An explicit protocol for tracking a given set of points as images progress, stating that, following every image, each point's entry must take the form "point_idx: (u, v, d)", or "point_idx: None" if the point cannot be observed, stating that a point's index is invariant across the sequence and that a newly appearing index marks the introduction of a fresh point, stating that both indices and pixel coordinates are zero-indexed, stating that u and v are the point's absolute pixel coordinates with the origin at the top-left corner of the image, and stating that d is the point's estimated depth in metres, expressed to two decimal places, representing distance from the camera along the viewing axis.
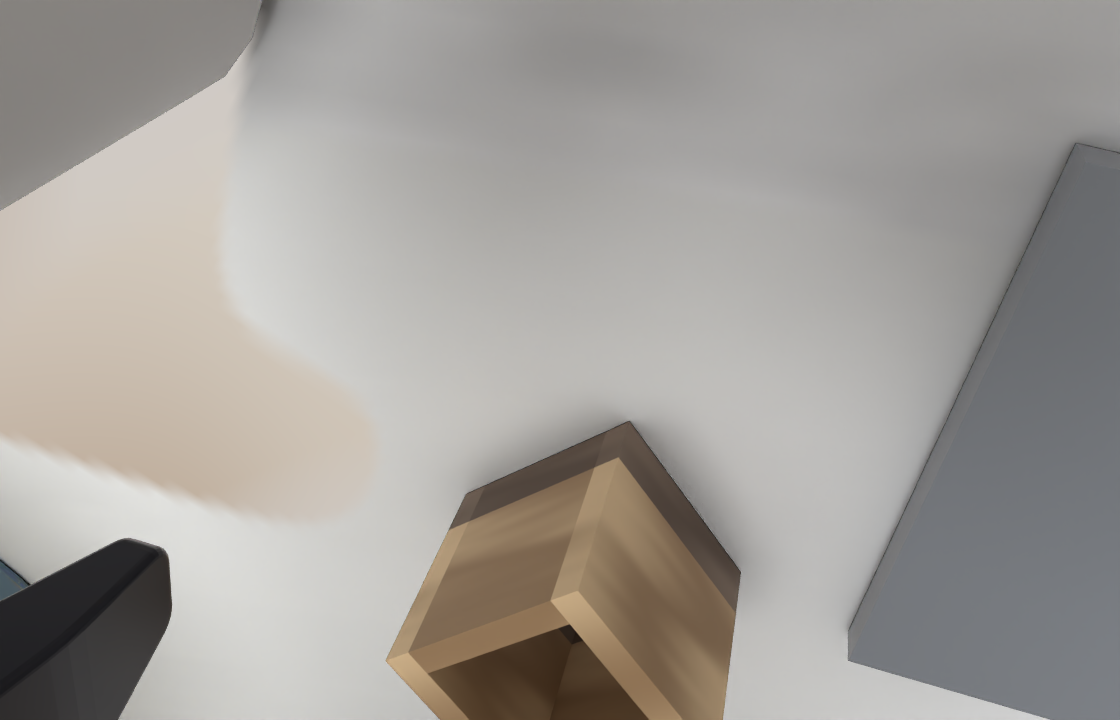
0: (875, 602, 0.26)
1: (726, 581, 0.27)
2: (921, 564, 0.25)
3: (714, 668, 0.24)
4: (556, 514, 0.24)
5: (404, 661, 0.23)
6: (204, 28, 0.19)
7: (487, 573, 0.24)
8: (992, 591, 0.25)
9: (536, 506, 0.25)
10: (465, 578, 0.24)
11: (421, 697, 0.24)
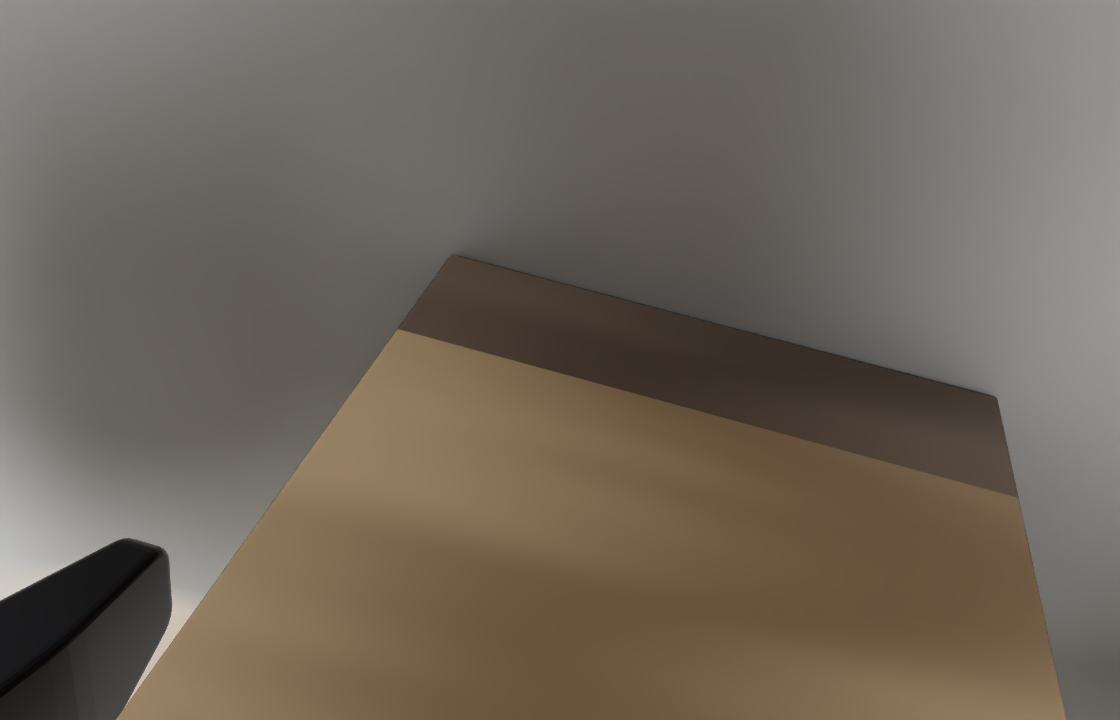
0: None
1: (944, 437, 0.09)
2: None
3: (978, 700, 0.07)
4: None
5: None
6: None
7: None
8: None
9: None
10: None
11: None
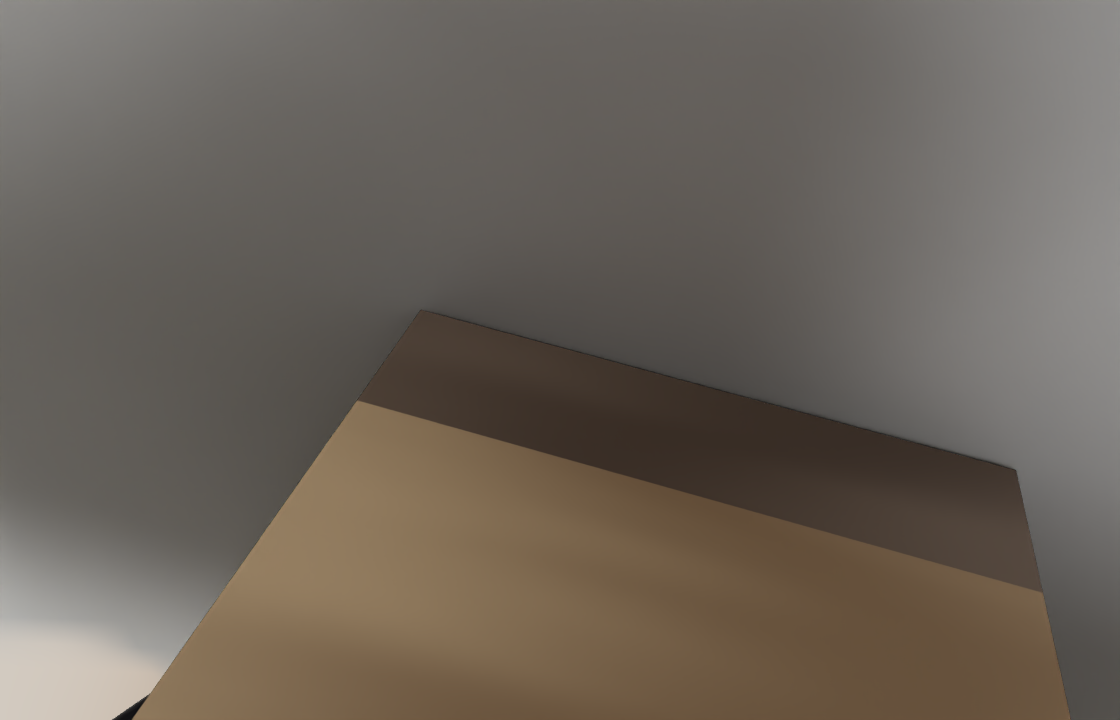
0: None
1: (959, 520, 0.08)
2: None
3: None
4: None
5: None
6: None
7: None
8: None
9: None
10: None
11: None
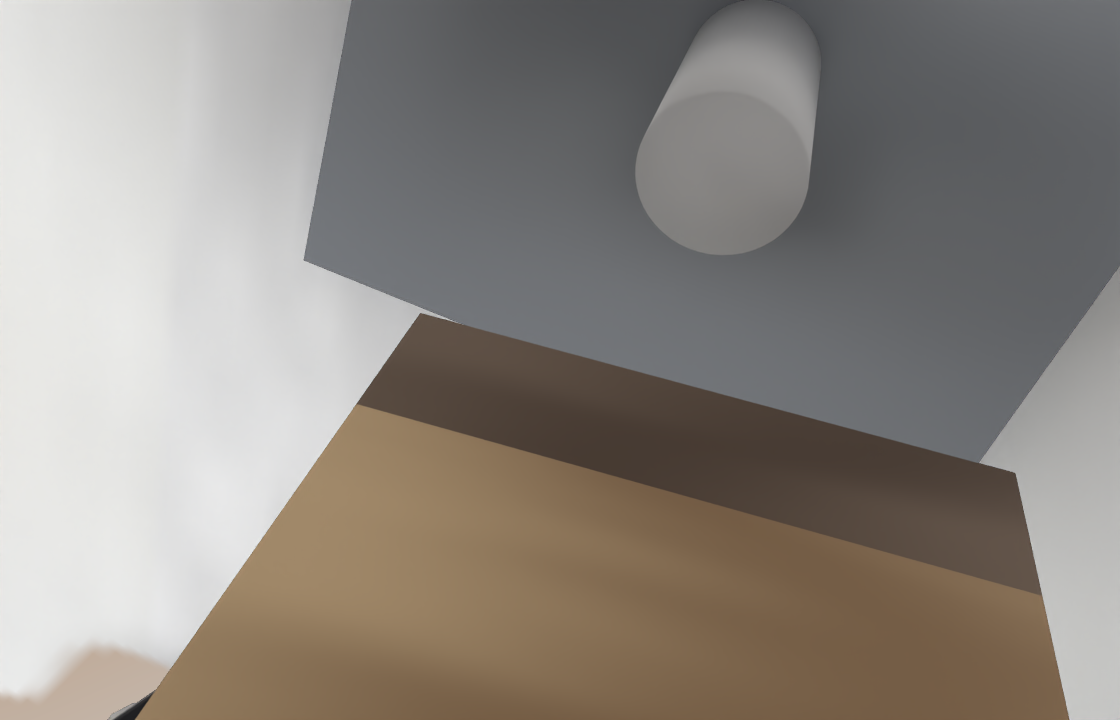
0: None
1: (958, 523, 0.08)
2: None
3: None
4: None
5: None
6: None
7: None
8: (826, 361, 0.20)
9: None
10: None
11: None
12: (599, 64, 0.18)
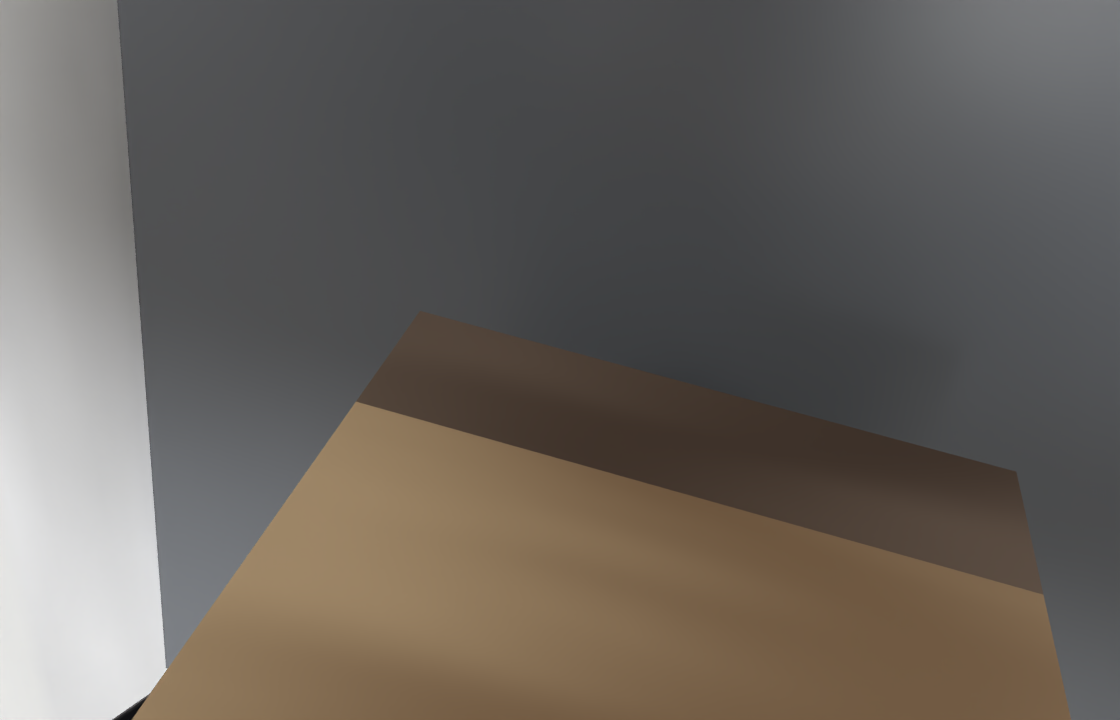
0: None
1: (959, 521, 0.08)
2: None
3: None
4: None
5: None
6: None
7: None
8: None
9: None
10: None
11: None
12: None
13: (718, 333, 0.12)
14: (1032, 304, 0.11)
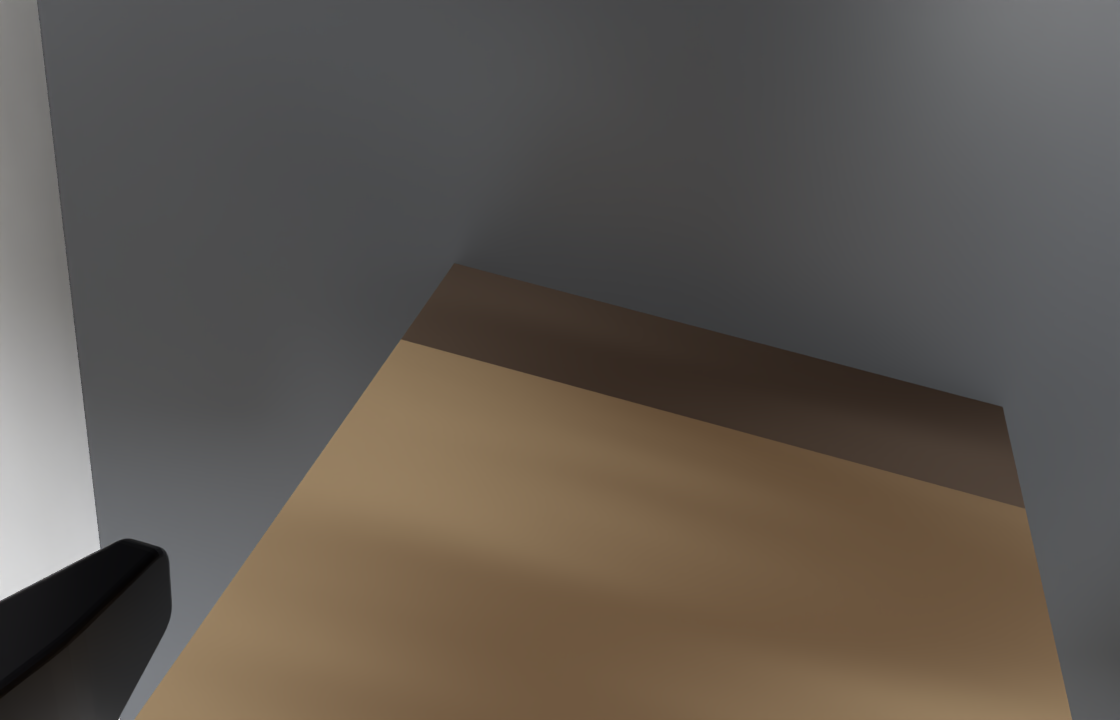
0: None
1: (950, 447, 0.09)
2: None
3: (987, 715, 0.07)
4: None
5: None
6: None
7: None
8: None
9: None
10: None
11: None
12: None
13: None
14: (1057, 377, 0.09)
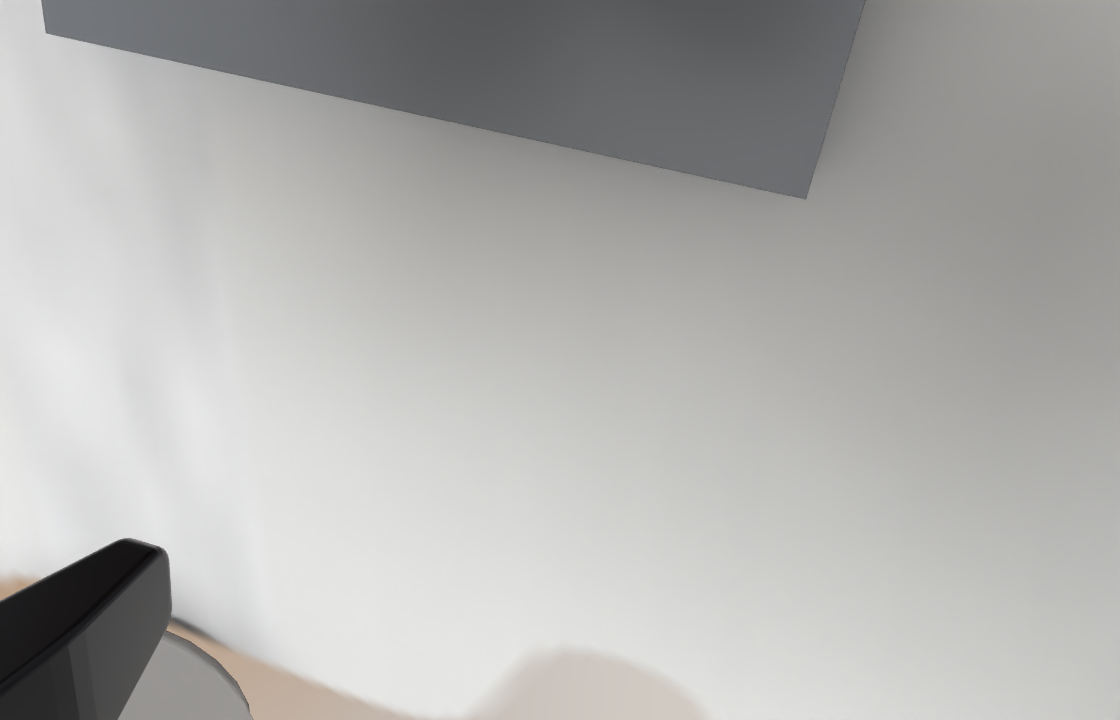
0: (681, 170, 0.18)
1: None
2: (596, 120, 0.18)
3: None
4: None
5: None
6: None
7: None
8: (627, 19, 0.17)
9: None
10: None
11: None
12: None
13: None
14: None
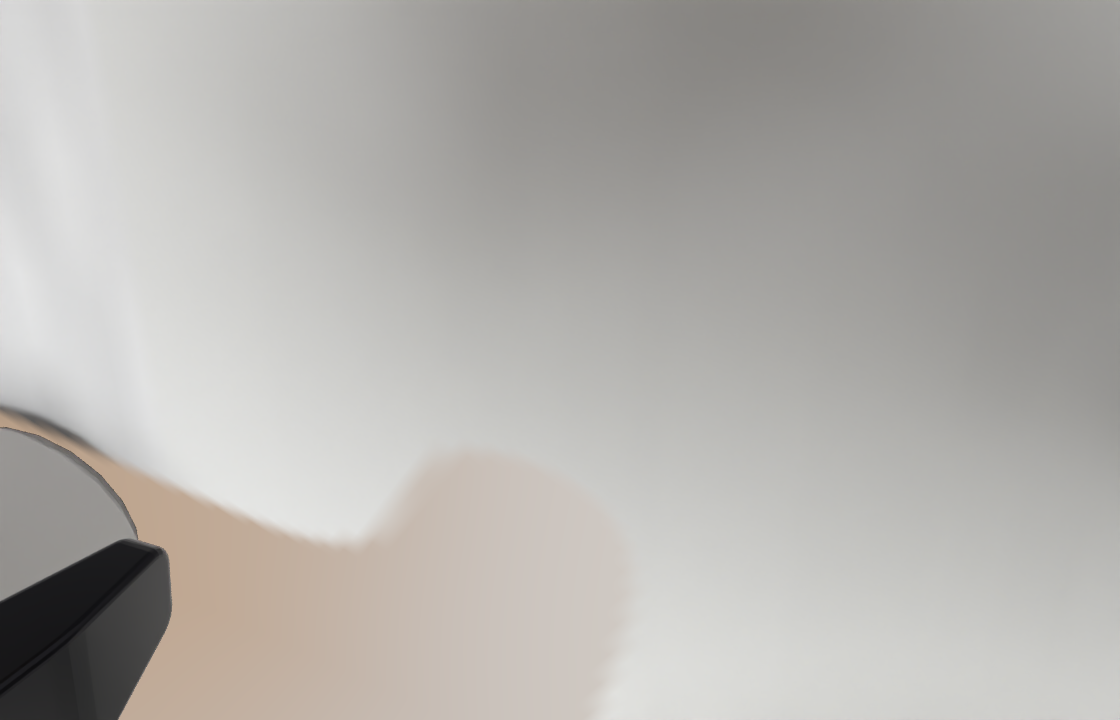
0: None
1: None
2: None
3: None
4: None
5: None
6: None
7: None
8: None
9: None
10: None
11: None
12: None
13: None
14: None
